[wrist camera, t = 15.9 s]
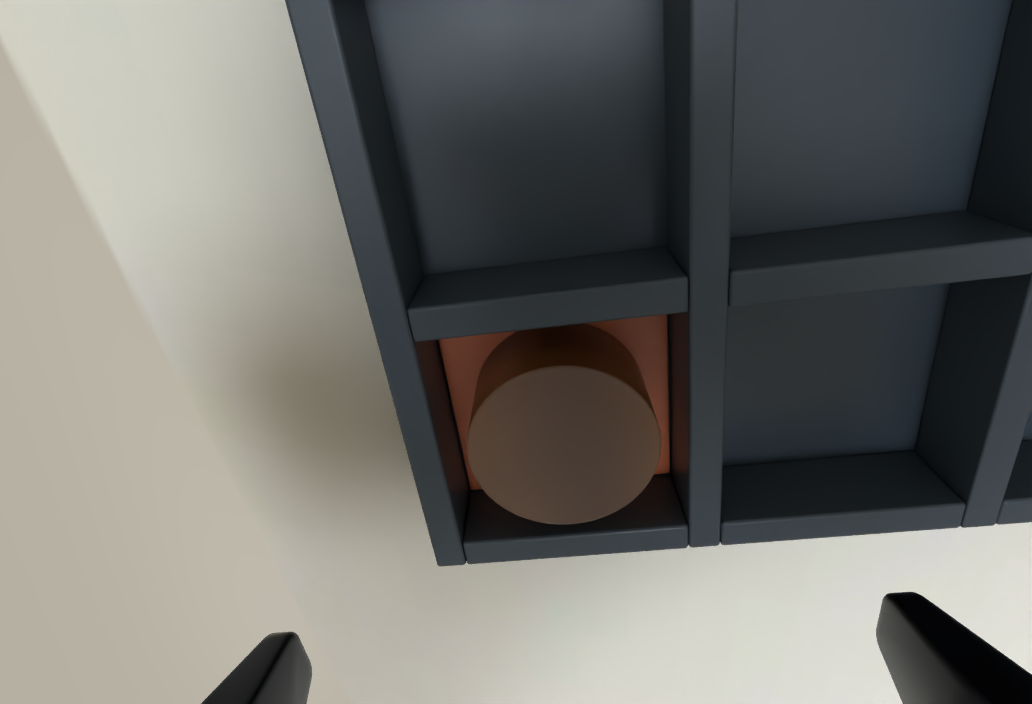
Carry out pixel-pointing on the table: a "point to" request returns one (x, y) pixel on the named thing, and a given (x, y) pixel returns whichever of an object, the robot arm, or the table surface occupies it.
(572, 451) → the cylinder
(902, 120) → the grid
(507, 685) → the table surface
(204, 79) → the table surface
